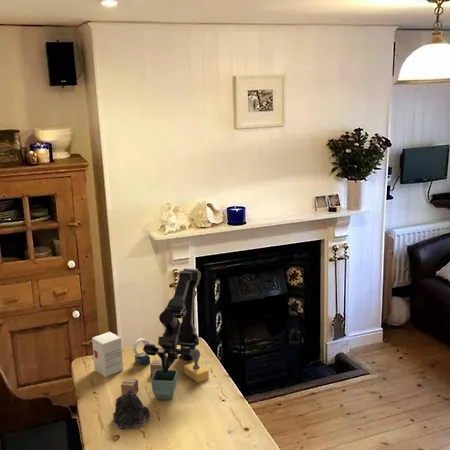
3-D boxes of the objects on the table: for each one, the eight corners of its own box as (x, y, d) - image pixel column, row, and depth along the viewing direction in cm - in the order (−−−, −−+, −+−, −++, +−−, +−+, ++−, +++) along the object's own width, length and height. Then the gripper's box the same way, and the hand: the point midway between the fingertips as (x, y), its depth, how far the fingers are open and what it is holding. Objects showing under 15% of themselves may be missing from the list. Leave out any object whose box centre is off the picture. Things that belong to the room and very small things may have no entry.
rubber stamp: (209, 378, 232) (208, 351, 229) (197, 383, 228) (196, 355, 226) (195, 369, 240) (194, 342, 237) (184, 373, 236) (182, 346, 233)
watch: (154, 362, 246) (152, 338, 244) (137, 367, 242) (135, 343, 239) (148, 357, 251) (146, 334, 248) (131, 362, 246) (129, 339, 244)
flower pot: (179, 390, 223) (177, 369, 221) (174, 403, 214) (173, 381, 212) (156, 390, 224) (155, 369, 222) (151, 402, 215) (150, 380, 213)
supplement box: (93, 370, 241) (91, 337, 237) (112, 363, 247) (109, 330, 243) (105, 377, 234) (102, 344, 231) (123, 370, 240) (121, 337, 237)
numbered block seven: (154, 369, 240) (154, 358, 239) (166, 370, 239) (165, 359, 238) (150, 375, 235) (150, 364, 234) (162, 376, 234) (161, 365, 233)
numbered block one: (126, 389, 225) (125, 377, 224) (138, 390, 224) (137, 378, 223) (121, 396, 220) (120, 384, 219) (134, 397, 219) (133, 385, 218)
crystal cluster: (138, 436, 196) (139, 409, 194) (103, 426, 200) (104, 400, 198) (155, 417, 208) (157, 392, 206) (122, 408, 213) (124, 384, 211)
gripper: (143, 324, 220) (134, 364, 212) (190, 327, 216) (183, 368, 208) (151, 335, 229) (143, 373, 221) (196, 338, 225) (190, 377, 217)
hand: (164, 373), depth 217 cm, fingers closed
